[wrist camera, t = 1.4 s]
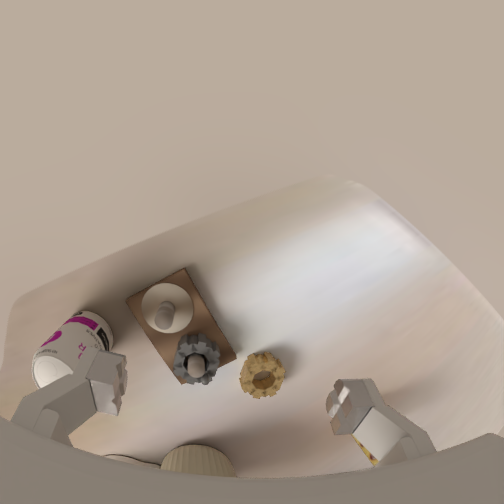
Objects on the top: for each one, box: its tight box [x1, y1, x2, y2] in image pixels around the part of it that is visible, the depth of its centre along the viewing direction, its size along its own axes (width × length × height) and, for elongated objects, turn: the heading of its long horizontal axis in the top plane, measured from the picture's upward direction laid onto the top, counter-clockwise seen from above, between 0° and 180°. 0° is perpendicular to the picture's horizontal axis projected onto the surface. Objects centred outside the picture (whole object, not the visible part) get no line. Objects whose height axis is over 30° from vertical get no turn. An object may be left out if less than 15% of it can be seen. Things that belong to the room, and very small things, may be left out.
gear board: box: [126, 268, 237, 385], centre depth 41 cm, size 16×10×6 cm, turn 26°
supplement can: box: [31, 311, 113, 389], centre depth 35 cm, size 8×8×15 cm
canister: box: [160, 444, 236, 477], centre depth 39 cm, size 18×18×21 cm
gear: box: [173, 333, 220, 385], centre depth 41 cm, size 7×7×5 cm
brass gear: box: [239, 352, 286, 399], centre depth 46 cm, size 7×7×3 cm
